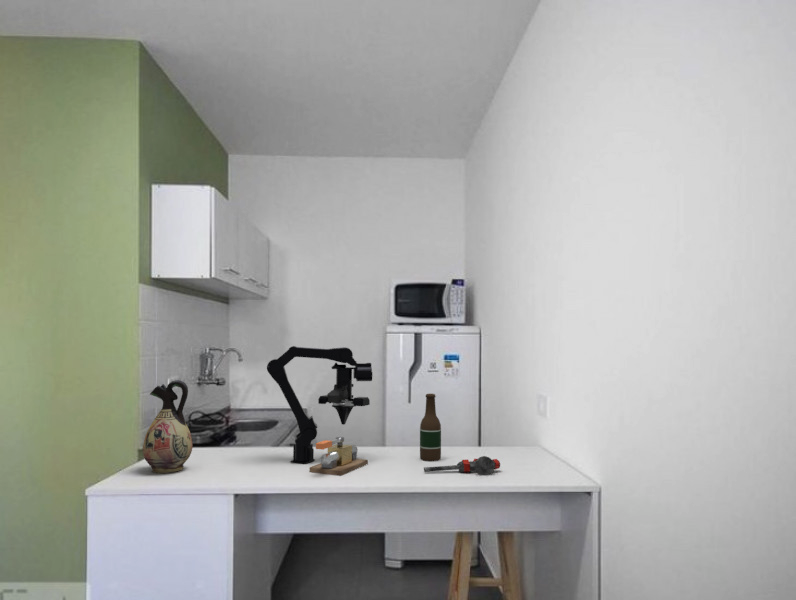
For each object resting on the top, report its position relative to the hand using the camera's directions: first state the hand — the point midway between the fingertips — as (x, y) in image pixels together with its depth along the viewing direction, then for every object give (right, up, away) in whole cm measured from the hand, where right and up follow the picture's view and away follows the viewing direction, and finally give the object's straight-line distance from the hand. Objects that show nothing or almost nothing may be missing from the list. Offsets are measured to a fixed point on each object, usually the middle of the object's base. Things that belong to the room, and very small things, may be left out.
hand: (343, 424), depth 204 cm
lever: (-2, -3, -18) cm, 19 cm away
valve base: (0, -12, -13) cm, 18 cm away
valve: (+41, -13, -16) cm, 46 cm away
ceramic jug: (-56, -11, -18) cm, 60 cm away
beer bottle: (+32, -14, +2) cm, 35 cm away
